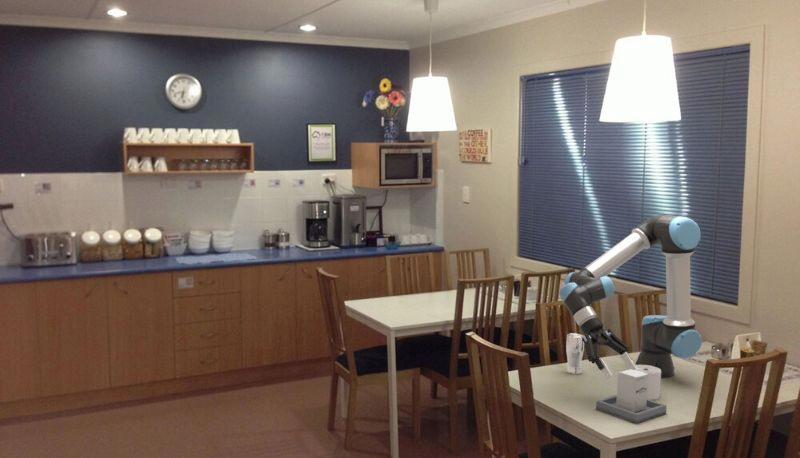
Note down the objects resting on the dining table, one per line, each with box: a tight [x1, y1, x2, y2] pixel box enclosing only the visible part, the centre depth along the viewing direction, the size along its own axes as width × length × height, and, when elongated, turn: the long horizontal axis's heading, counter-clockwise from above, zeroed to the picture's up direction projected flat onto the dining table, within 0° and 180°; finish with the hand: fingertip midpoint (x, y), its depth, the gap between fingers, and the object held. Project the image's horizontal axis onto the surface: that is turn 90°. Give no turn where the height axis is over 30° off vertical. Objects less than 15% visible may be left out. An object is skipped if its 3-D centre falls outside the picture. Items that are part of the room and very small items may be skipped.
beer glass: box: [565, 333, 585, 375], centre depth 293 cm, size 7×7×15 cm
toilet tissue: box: [635, 365, 662, 401], centre depth 265 cm, size 11×12×10 cm
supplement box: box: [616, 369, 648, 413], centre depth 249 cm, size 7×7×13 cm
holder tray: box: [595, 394, 667, 425], centre depth 249 cm, size 16×16×3 cm
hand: (621, 373), depth 251 cm, fingers open, 13 cm apart
